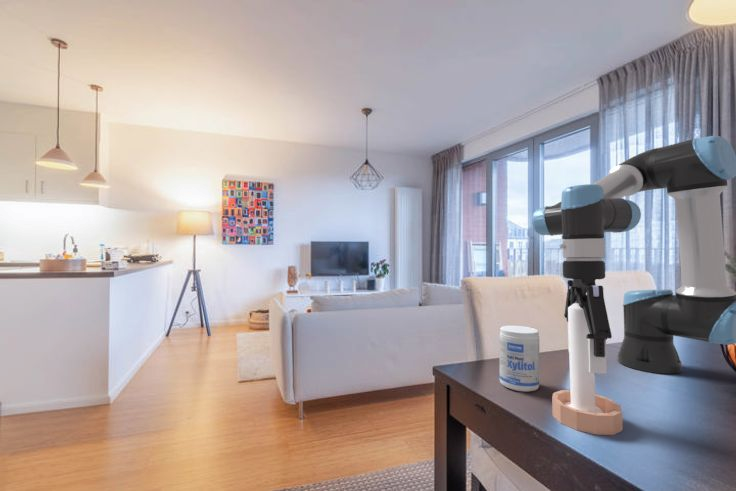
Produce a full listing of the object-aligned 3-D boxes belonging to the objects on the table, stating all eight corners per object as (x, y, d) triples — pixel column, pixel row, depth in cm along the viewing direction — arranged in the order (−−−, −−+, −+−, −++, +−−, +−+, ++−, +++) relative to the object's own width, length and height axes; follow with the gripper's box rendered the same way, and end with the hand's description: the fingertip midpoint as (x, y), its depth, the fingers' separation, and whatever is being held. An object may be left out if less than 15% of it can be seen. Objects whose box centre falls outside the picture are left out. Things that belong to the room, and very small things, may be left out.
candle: (609, 421, 68) (604, 294, 69) (569, 416, 70) (565, 293, 71) (596, 407, 74) (592, 292, 76) (560, 403, 76) (557, 291, 78)
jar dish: (596, 406, 77) (595, 390, 77) (637, 434, 65) (637, 415, 65) (542, 406, 77) (541, 390, 77) (573, 434, 65) (573, 415, 65)
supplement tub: (508, 393, 84) (507, 333, 84) (494, 378, 94) (493, 325, 94) (547, 393, 84) (546, 333, 84) (529, 378, 93) (528, 325, 94)
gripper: (549, 258, 84) (551, 344, 84) (582, 261, 60) (585, 382, 60) (583, 258, 82) (585, 346, 82) (632, 261, 58) (635, 386, 58)
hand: (585, 361), depth 71 cm, fingers open, 13 cm apart
